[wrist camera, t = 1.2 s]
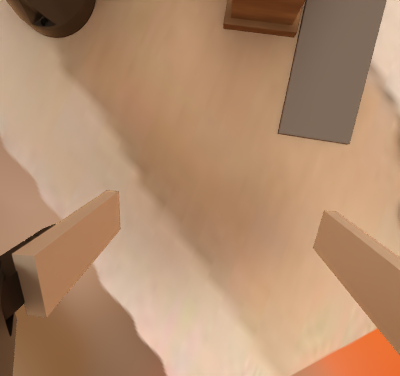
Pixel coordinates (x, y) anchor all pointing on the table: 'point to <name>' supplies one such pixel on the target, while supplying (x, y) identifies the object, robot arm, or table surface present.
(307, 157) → the table surface
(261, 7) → the walnut pedestal
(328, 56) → the rubber mat
